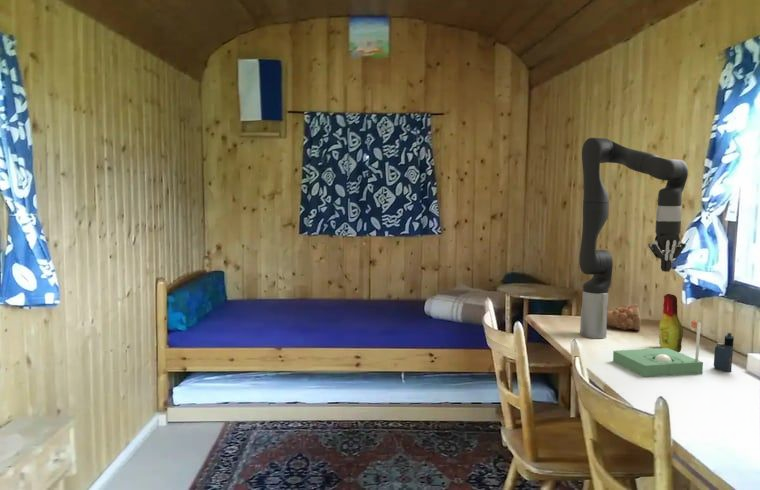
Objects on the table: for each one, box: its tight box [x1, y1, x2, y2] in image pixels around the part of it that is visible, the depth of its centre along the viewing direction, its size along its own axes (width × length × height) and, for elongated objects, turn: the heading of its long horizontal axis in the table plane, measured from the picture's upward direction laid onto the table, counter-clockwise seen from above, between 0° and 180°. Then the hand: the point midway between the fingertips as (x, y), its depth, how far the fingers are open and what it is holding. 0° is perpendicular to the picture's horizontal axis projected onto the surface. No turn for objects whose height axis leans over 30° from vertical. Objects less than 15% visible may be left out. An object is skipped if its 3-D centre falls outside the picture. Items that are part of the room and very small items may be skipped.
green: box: [612, 320, 704, 378], centre depth 181 cm, size 16×20×16 cm
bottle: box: [658, 293, 684, 353], centre depth 200 cm, size 12×6×20 cm, turn 172°
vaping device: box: [713, 332, 735, 373], centre depth 179 cm, size 3×5×12 cm, turn 28°
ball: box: [654, 354, 672, 362], centre depth 179 cm, size 5×5×5 cm
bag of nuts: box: [607, 303, 642, 331], centre depth 234 cm, size 19×11×15 cm
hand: (665, 271), depth 192 cm, fingers closed
